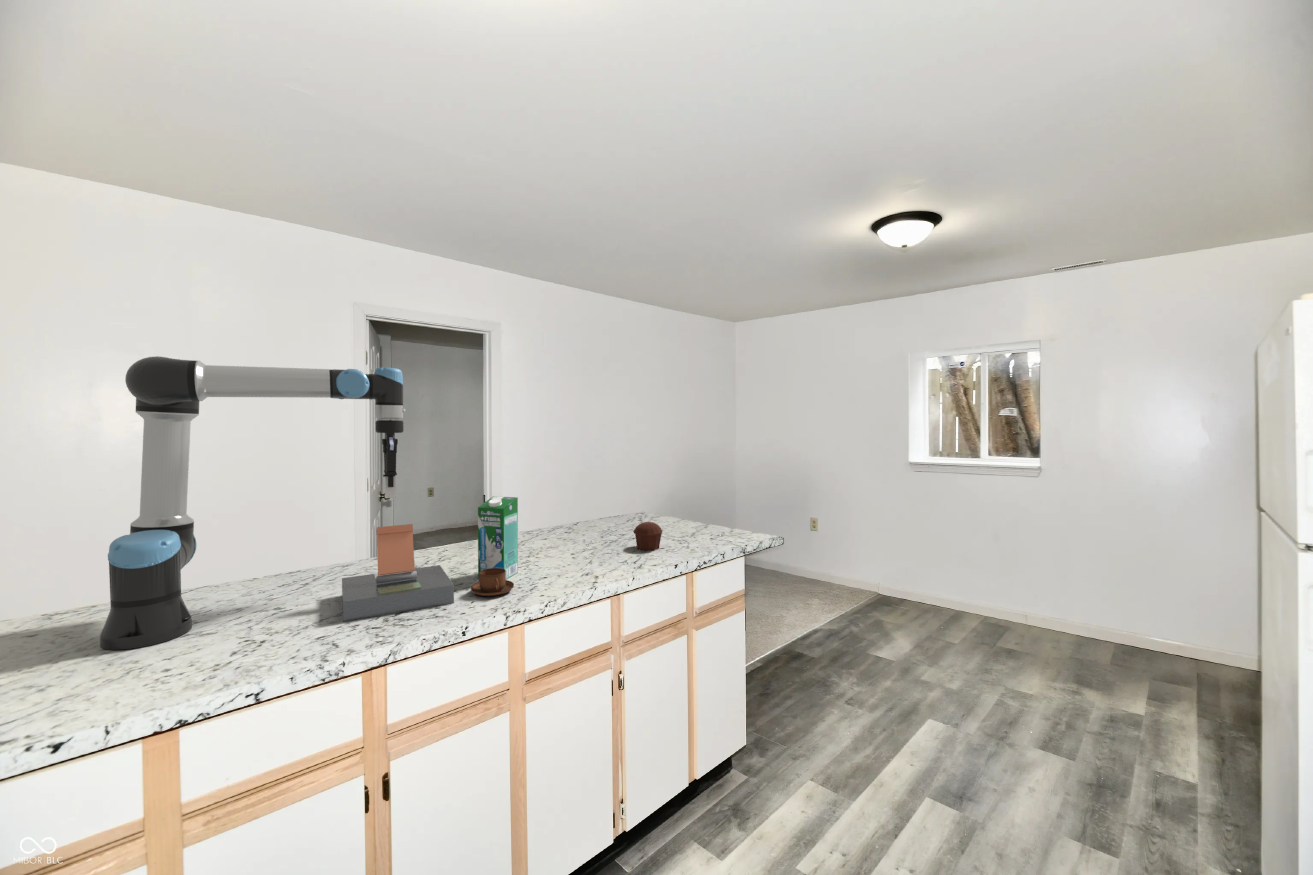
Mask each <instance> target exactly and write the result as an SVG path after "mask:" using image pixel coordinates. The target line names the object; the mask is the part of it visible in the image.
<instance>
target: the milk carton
mask: <svg viewBox="0 0 1313 875" xmlns="http://www.w3.org/2000/svg"><path fill="white" fill-rule="evenodd" d="M518 500H519V497H518V496H516V497H515V496H514V497H513V496H497V495H496V496H494V495H493V496H491V497H490V498H488V499H487V500H486V501H485V502H483V503H482V504H480V505H479V506H478V507H477V570H478V571H477V579H479V572H480V571H482V570H485V569H489V568H502V569H505V570H506V580H508V579H509V578H511V577H512V576H515V575H516V574H518V571H519V557H518V556H519V551H518V550H519V549H518V548H519V544H518V543H519V538H518V536H519V535H518V534H519V520H518V519H519V518H518V516H519V515H518V514H519V513H518V512H519V510H518V509H519V508H518V507H519V506H518V505H519V504H518V503H519V502H518Z"/></svg>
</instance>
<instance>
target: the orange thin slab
mask: <svg viewBox="0 0 1313 875" xmlns="http://www.w3.org/2000/svg"><path fill="white" fill-rule="evenodd" d="M413 525H414V524H413V523H409V524H397V525H388V526H387V525H386V526H377V527H376V529H375V530H376V550H377V551H376V554H377V573H378V576H376V583H377V584H378V583H386V582H393V581H400V580H407V579H414V578H417V571H414V570H415V568H416V567H415V553H414V552H415V551H414V528H413ZM409 571H412V572H409ZM402 572H404V573H402ZM394 573H397V574H394ZM387 574H390V575H387ZM379 575H382V576H379Z"/></svg>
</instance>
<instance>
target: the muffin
mask: <svg viewBox="0 0 1313 875" xmlns="http://www.w3.org/2000/svg"><path fill="white" fill-rule="evenodd" d="M632 532H633V533H634V535H635V536H634V537H635V543H636V549H637V550H639V549H640V551H645V552H647V551H649V552H650V551H656V550H660V543H661V539H662V538H661V537H662V534H663V529H662V528H661V526H660V525H659V524H657V523H656V522H653V521H644V522H640V523H639V524H637V525H636V527H635V528H634V530H633V531H632Z"/></svg>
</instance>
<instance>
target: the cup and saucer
mask: <svg viewBox="0 0 1313 875" xmlns="http://www.w3.org/2000/svg"><path fill="white" fill-rule="evenodd" d="M478 579H479V582H477V583H474V584H473V585H471V586H470V591H471V592H472V593H474V594H475V595H477V596H481V597H495V596H501V595H504V594H506V593H508V592H510V591H511V590H512V589H513V588H514V585H515V584H514V582H513V581H511V580H508V579H506V570H505V569H502V568H489V569H485V570H482V571H480V572H479V578H478Z"/></svg>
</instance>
